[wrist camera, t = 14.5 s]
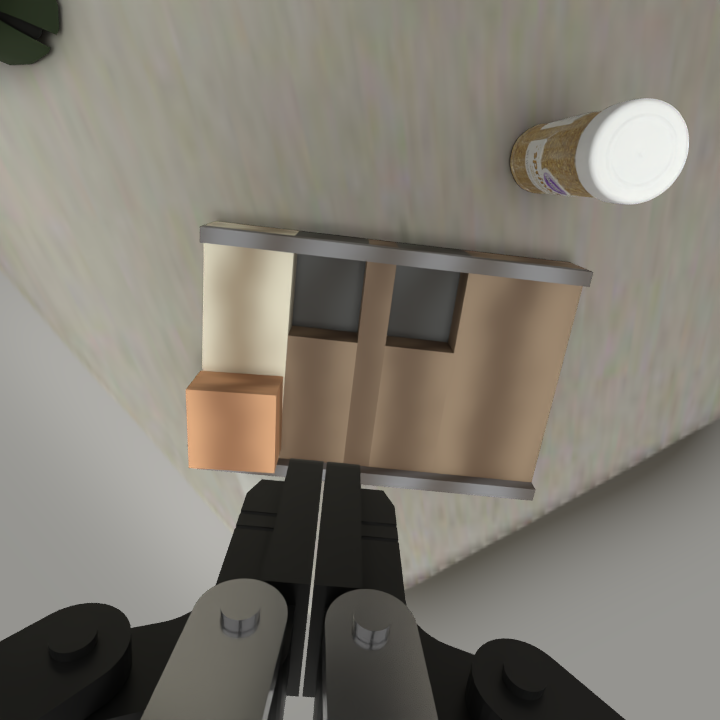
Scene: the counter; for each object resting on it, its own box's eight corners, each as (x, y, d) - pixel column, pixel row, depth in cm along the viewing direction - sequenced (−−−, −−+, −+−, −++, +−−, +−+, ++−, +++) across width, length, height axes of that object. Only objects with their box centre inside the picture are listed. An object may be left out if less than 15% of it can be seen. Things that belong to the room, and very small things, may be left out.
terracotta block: (283, 376, 38) (276, 395, 35) (281, 448, 40) (274, 473, 37) (200, 370, 38) (185, 389, 35) (202, 443, 40) (188, 467, 37)
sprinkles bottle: (496, 175, 36) (571, 176, 24) (531, 110, 35) (631, 75, 22) (551, 205, 37) (652, 222, 24) (588, 143, 36) (715, 127, 23)
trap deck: (569, 262, 38) (593, 272, 35) (517, 472, 45) (532, 500, 41) (215, 221, 37) (199, 226, 34) (211, 443, 43) (197, 468, 40)
